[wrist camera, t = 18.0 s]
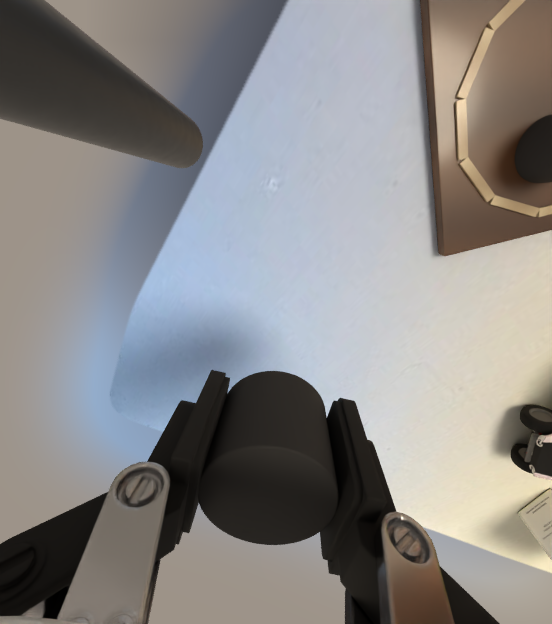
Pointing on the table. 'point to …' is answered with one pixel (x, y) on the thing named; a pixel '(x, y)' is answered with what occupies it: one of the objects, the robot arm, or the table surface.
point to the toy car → (536, 442)
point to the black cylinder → (270, 462)
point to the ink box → (540, 520)
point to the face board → (485, 116)
